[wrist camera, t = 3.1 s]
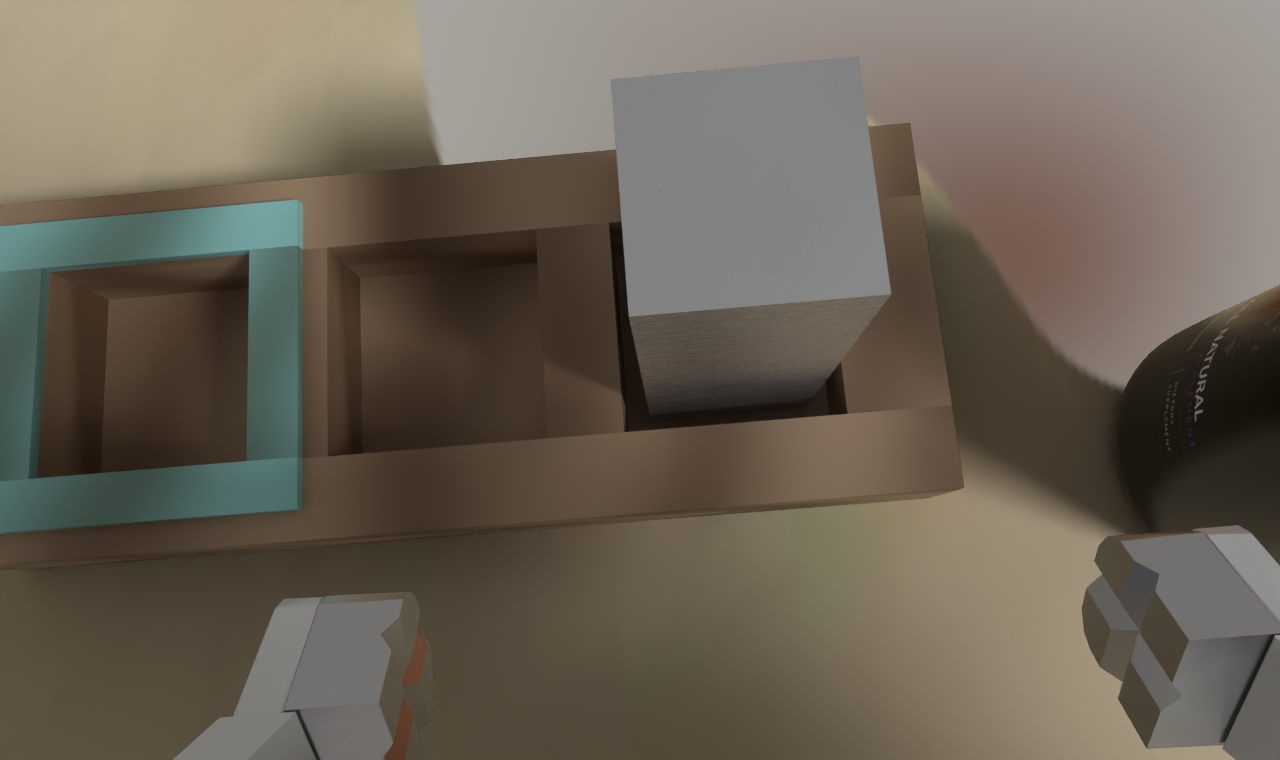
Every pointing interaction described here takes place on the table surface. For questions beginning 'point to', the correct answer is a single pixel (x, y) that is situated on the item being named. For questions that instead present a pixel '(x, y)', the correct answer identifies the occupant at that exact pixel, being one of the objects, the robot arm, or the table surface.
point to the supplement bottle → (1208, 426)
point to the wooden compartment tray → (406, 369)
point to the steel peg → (747, 232)
